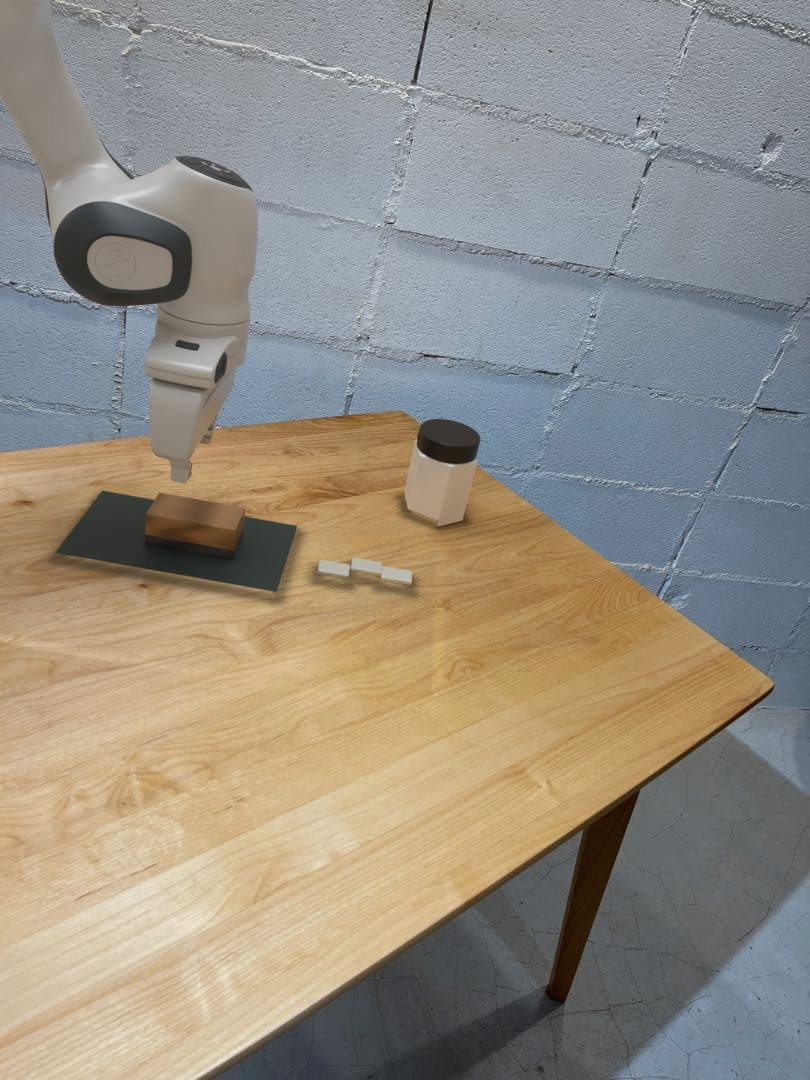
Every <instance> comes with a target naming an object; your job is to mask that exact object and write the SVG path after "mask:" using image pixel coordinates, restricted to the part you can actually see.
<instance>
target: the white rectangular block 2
mask: <svg viewBox="0 0 810 1080" xmlns="http://www.w3.org/2000/svg"><path fill="white" fill-rule="evenodd" d="M382 566H383V562H382V561H378V560H373V559H366V558H360V557H354V556H353V557H352V558H351V563H350V572H352V573H359V574H365V575H369V576H377V577H381V572H382Z"/></svg>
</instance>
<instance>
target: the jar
mask: <svg viewBox="0 0 810 1080" xmlns="http://www.w3.org/2000/svg"><path fill="white" fill-rule="evenodd" d="M480 444H481V436H480V433H478V432H477V431H476V430H475V429H474V428H473V427H471V426H469V425H467V424H465V423H462V422H460V421H456V420H453V419H448V418H447V419H446V418H432V419H428V420H425V421H423V422H422V423H421V424H420V426H419V429H418V433H417V436H416V439H414V444H413V449H412V453H411V458H410V463H409V467H408V473H407V477H406V481H405V488H404V491H403V494H404V499H405V502H406V506H407V510H409V511H412V512H414V513H417V514H420V515H423V516H425V517H428V518H430V519H432V520H435V521H436V527H437V528H440V527H443V526H447V525H451V524H455V523H459V522H463V520H464V517H465V513H466V509H467V506H468V505H467V504H468V501H469V498H470V495H471V494H470V493H471V489H472V484H473V481H474V479H475V474H476V470H477V467H478V461H479V460H478V458H477V455H478V453H479V448H480Z"/></svg>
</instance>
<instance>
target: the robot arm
mask: <svg viewBox="0 0 810 1080" xmlns="http://www.w3.org/2000/svg"><path fill="white" fill-rule="evenodd" d="M52 13H53V12H52V4H51V0H0V98H1V100H2V102H3V103H4V105H5V107H6V110H7V112H8V113H9V115H10V117H11V119H12V120H13V122H14V124H15V126H16V128H17V130H18V131H19V133H20V135H21V137H22V138H23V141H24V142H25V144H26V146H27V148H28V150H29V152H30V153H31V156H32V157H33V159H34V161H35V163H36V165H37V167H38V169H39V172H40V176H41V178H42V181H43V186H44V199H45V200H44V201H45V212H46V213H45V214H46V218H47V222H48V226H49V229H50V233H51V242H52V243H51V244H52V249H53V256H54V261H55V264H56V268H57V269H58V272H59V274H60V275H61V277H62V279H63V281H64V282H66V284H67V285H68V286H69V287H70V288H71V289H72V290H73V291H74V292H75V293H76V294H78V295H79V296H81V297H83V298H84V299H86V300H87V301H90V302H92V303H95V304H97V305H102V306H106V307H135V306H148V305H156V304H157V307H156V308H157V310H156V321H155V324H154V336H153V338H152V340H151V342H150V346H149V348H148V350H147V352H146V355H145V358H144V374H145V376H146V377H149V378H151V381H150V383H149V384H150V385H149V391H148V392H149V393H148V434H149V446H150V449H151V451H152V453H153V455H154V456H156V457H157V458H162V459H166V460H168V461H169V464H170V479H171V481H173V482H174V483H180V484H187V483H188V482H189V480H190V479H191V477H192V473H193V472H192V471H193V462H191V461H192V460H191V458H192V456H193V454H194V453H195V451H196V450H197V448H198V446H199V445H200V444H204V445H209V444H210V443H211V442H212V440H213V439H214V436H215V426H216V423H217V419H218V415H219V412H220V410H221V408H222V406H223V404H224V403H225V402H226V400H227V398H228V397H229V395H230V393H231V392H232V389H233V387H234V381H235V375H236V374H235V373H236V368H237V367H240V366H242V365H243V364H244V363H245V361H246V357H247V349H248V339H249V331H250V322H251V321H250V320H251V305H250V299H249V291H250V287H251V283H252V281H253V278H254V276H255V273H256V265H257V254H258V240H259V239H258V237H259V211H258V210H259V209H258V208H259V207H258V201H257V196H256V193H255V192H254V190H253V188H252V187H251V186H250V184H249V183H248V182H247V181H246V180H245V179H244V178H243V177H242V176H240V175H239V174H238V173H237V172H235V171H234V170H231V169H229V168H227V167H226V166H223V165H221V164H219V163H216V162H215V161H211V160H209V159H204V158H200V157H197V156H191V155H177V156H175V157H174V158H173V159H172V160H171V161H169V162H168V163H167V164H164V165H163V166H161V167H159V168H157V169H156V170H153V171H151V172H149V173H146V174H144V175H141V176H138V177H135V176H134V175H133V174H131V172H129V170H127V169H126V168H125V167H124V166H123V165H122V164H121V163H120V162H119V161H118V160H116V158H115V157H114V156H113V155H112V154H111V153H110V152H109V150H108V149H107V148H106V147H107V146H105V144H104V142H103V141H102V139H101V137H100V135H99V133H98V131H97V129H96V127H95V125H94V122H93V120H92V118H91V116H90V114H89V112H88V110H87V108H86V106H85V104H84V101H83V99H82V97H81V95H80V93H79V91H78V89H77V86H76V85H75V83H74V80H73V78H72V76H71V74H70V72H69V69H68V67H67V65H66V62H65V60H64V57H63V54H62V50H61V48H60V46H59V42H58V39H57V33H56V30H55V25H54V20H53V14H52Z"/></svg>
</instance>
